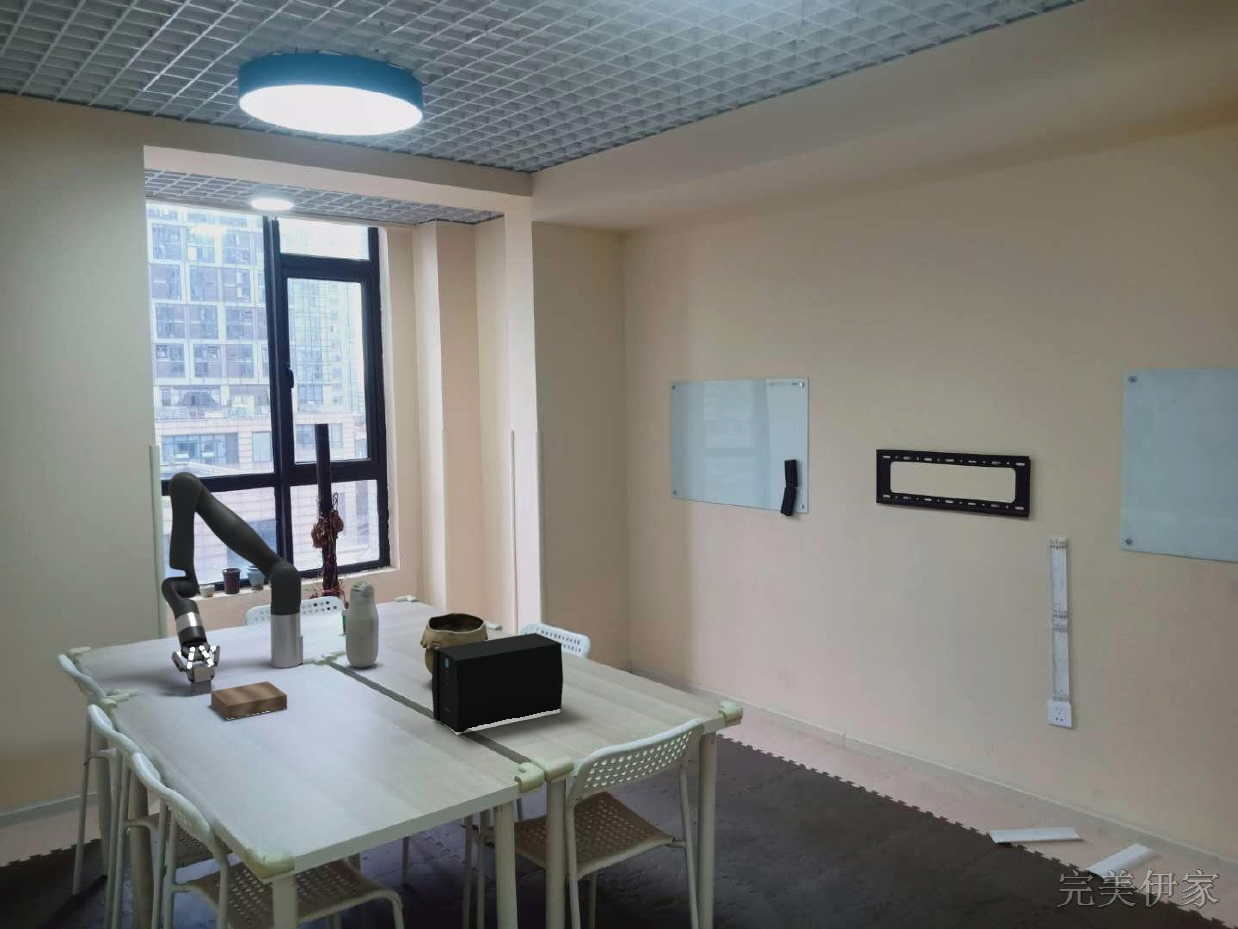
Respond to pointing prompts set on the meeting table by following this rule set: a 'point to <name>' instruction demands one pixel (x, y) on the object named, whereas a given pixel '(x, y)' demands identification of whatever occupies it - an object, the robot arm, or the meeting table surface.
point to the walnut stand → (248, 700)
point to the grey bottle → (362, 626)
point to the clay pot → (451, 633)
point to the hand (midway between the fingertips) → (202, 679)
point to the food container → (344, 620)
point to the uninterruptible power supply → (496, 680)
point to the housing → (201, 679)
